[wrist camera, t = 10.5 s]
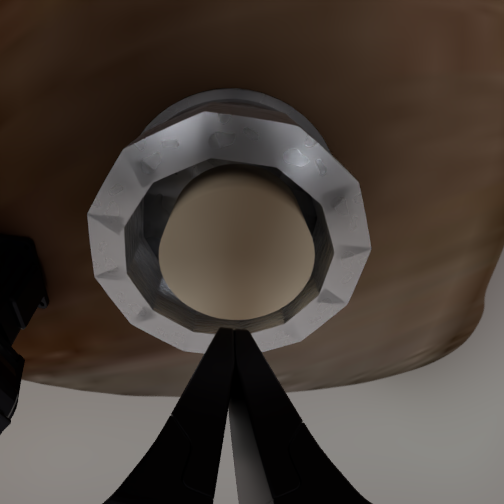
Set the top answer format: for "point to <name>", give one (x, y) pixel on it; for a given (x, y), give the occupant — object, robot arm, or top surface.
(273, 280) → the lid
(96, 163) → the top surface
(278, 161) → the canister
